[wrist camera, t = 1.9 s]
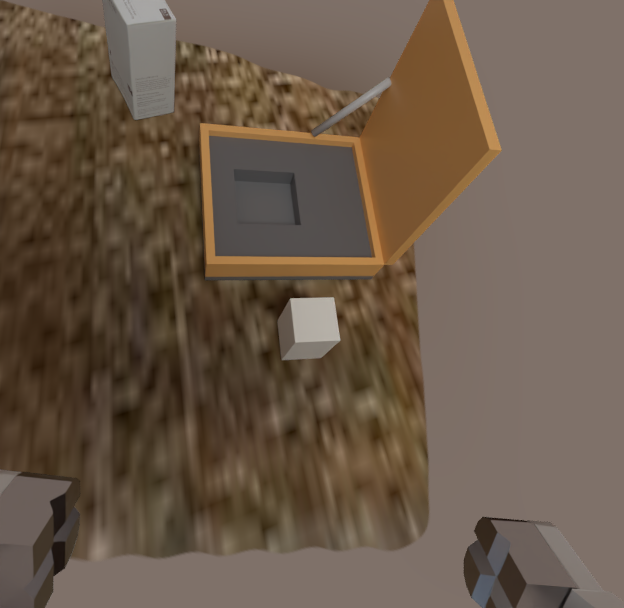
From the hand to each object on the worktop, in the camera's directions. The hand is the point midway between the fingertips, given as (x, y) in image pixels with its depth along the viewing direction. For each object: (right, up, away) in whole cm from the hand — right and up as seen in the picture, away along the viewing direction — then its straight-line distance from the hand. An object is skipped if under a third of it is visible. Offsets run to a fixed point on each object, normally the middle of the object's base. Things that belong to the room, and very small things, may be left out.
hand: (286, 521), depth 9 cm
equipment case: (-3, +17, +53) cm, 55 cm away
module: (-1, 0, +47) cm, 47 cm away
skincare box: (-23, +33, +54) cm, 67 cm away
